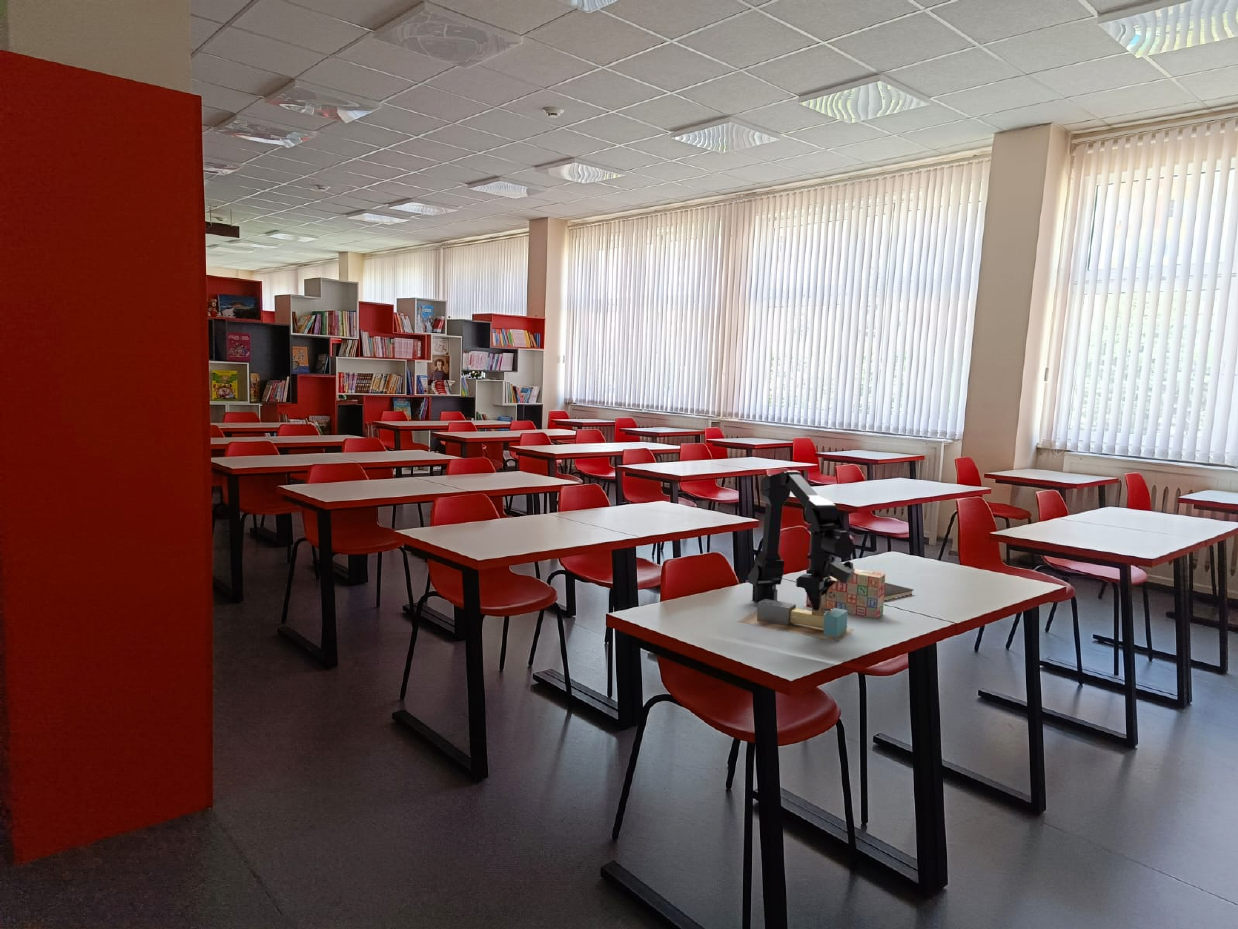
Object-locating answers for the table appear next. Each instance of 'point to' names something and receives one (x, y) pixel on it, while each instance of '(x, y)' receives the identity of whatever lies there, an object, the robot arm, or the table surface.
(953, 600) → the table surface
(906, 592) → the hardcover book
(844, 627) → the socket block
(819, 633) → the base board
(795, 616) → the l-shaped wooden step
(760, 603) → the sleeve
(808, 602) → the stack of blocks
